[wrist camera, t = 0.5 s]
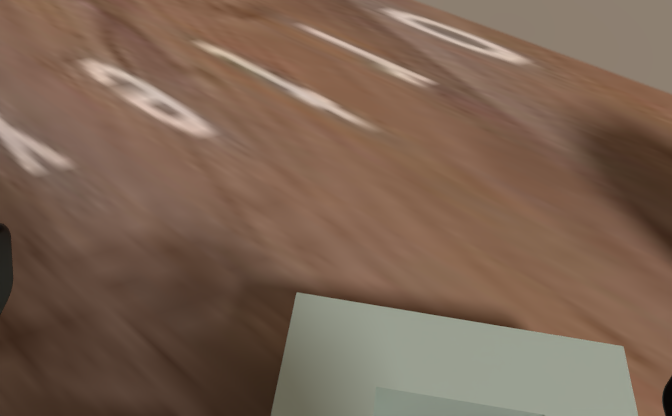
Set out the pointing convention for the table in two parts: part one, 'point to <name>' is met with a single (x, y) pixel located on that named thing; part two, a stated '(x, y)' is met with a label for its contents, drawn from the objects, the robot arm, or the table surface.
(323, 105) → the table surface
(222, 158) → the table surface
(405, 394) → the dock
